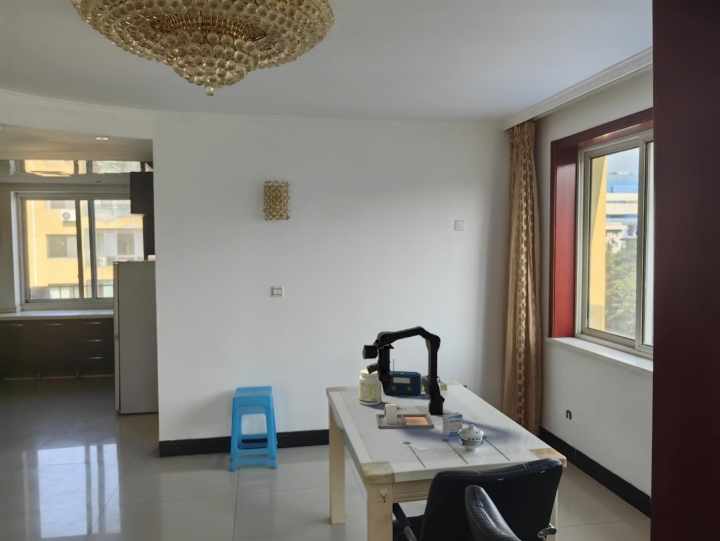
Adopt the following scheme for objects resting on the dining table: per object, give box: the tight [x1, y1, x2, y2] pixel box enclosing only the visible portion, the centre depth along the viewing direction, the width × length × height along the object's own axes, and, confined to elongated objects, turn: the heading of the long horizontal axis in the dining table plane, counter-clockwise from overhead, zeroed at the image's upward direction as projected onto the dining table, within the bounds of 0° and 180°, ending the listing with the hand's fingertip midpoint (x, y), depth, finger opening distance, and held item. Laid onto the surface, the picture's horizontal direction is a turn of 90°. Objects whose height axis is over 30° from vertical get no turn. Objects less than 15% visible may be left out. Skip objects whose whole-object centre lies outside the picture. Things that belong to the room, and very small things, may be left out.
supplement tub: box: [358, 368, 382, 406], centre depth 280 cm, size 12×12×17 cm
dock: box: [375, 413, 434, 430], centre depth 248 cm, size 25×17×2 cm
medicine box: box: [442, 412, 464, 437], centre depth 234 cm, size 8×4×9 cm, turn 117°
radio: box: [382, 358, 422, 397], centre depth 297 cm, size 21×9×20 cm, turn 81°
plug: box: [383, 403, 398, 424], centre depth 248 cm, size 6×4×8 cm
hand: (384, 390), depth 256 cm, fingers open, 9 cm apart
